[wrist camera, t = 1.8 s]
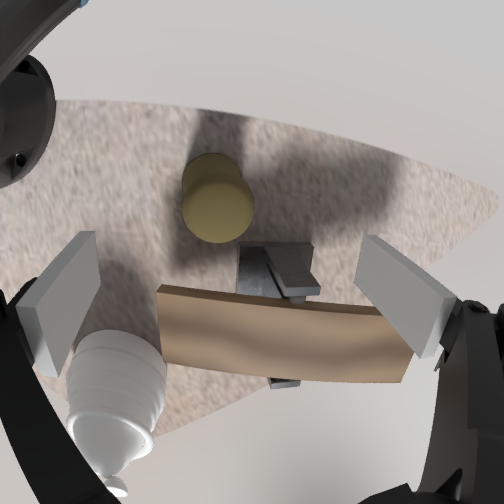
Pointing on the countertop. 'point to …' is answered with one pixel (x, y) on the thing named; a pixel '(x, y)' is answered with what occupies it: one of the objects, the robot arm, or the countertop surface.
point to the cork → (216, 199)
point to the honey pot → (114, 401)
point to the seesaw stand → (276, 277)
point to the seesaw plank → (279, 337)
